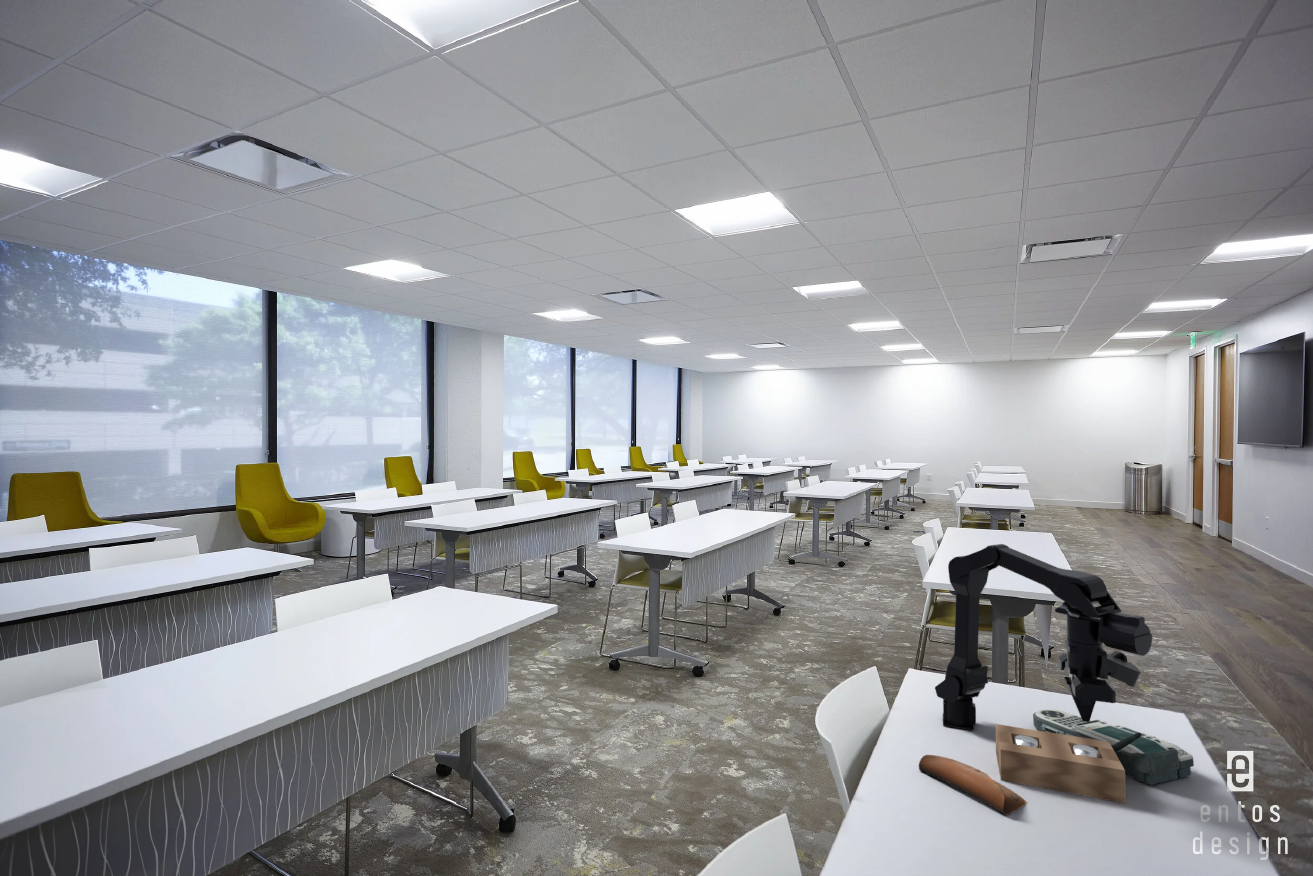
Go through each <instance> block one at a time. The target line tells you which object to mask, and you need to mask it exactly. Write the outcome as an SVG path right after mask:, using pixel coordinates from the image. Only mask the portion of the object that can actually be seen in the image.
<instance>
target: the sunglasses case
mask: <svg viewBox="0 0 1313 876" xmlns="http://www.w3.org/2000/svg"><path fill="white" fill-rule="evenodd" d="M918 769H919V771H921V772H923V773H925V774H927V775H929V776H933V777H934V778H936V779H939V780H940V781H943V782H946V783H949V784H950V785H951V786H953V787H954V788H957V789H959V790H961V791H962V792H965V793H967V794H969V795H970V796H972V797H974V798H975V799H978V800H980V801H982V802H983V803H985V804H987V805H989V806H991V807H992V808H995V809H997V811H999V812H1001V813H1003V814H1004V815H1005V816H1008V815H1010V814H1011V813H1013V812H1015V811H1017V810H1019V809H1021V807H1024V806H1025V805H1026V804H1027V805H1028V804H1029V803H1028V801H1026V800H1025V799H1024V798H1023V797H1022V796H1021V795H1019V794H1018V793H1016V792H1015V791H1013V790H1012V789H1010V788H1008V787H1007V786H1005V785H1003V784H1001V783H1000V782H998V781H997V780H995V779H993V778H992V777H990V775H988V774H987V773H986V772H984V771H981V770H980V769H979V768H976V767H974V766H973V765H972V766H971V765H969V764H966V763H963V762H961V761H958V760H956V759H952V758H949V757H946V756H945V757H944V756H940V755H933V754H925V755H923V756H922V757H921V758H920V760H919V763H918Z"/></svg>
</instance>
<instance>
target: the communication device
mask: <svg viewBox="0 0 1313 876" xmlns="http://www.w3.org/2000/svg"><path fill="white" fill-rule="evenodd" d="M1032 718H1033V726H1034V728H1035V729H1036V730H1037V731H1044V732H1050V733H1057V734H1063V735H1069V736H1076V737H1082V738H1089V739H1095V740H1102V741H1108V742H1109V743H1110V744H1111V746H1112V748H1113V750H1114V752H1115V753H1116V755H1117V757H1118V759H1119V761H1120V762H1121V764H1122V766H1123V768H1124V770H1125V777H1129V778H1131V779H1133V780H1137V781H1138V782H1141V783H1143V784H1147V785H1150V786H1153V785H1157V784H1160V783H1161V784H1162V783H1165V782H1169V781H1174V780H1176V779H1177V778H1185V777H1189V776H1191V775H1192V772H1191V771H1192V770H1191V769H1192V768H1191V767H1194V766H1195V765H1194V764H1195V763H1194V756H1193V755H1192V754H1191V753H1189V752H1188V751H1186V750H1185V749H1183V748H1182V747H1181V746H1178V745H1177V744H1175V743H1173V742H1169V741H1168V740H1164V739H1160V738H1159V737H1157V736H1156V735H1153V734H1146V733H1143V732H1140V731H1138V730H1135V729H1132V728H1130V727H1126V726H1123V725H1120V724H1116V725H1112V724H1109V723H1108V722H1107V721H1106V720H1102V721H1101V720H1100V719H1095V720H1091V719H1090V721H1089V722H1085V721H1083V720H1082V718H1081V716H1080V715H1078V714H1077V715H1076V714H1074V713H1070V712H1067V711H1065V710H1059V709H1046V708H1045V709H1039V710H1037V711H1035V712H1034V713H1032Z"/></svg>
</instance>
